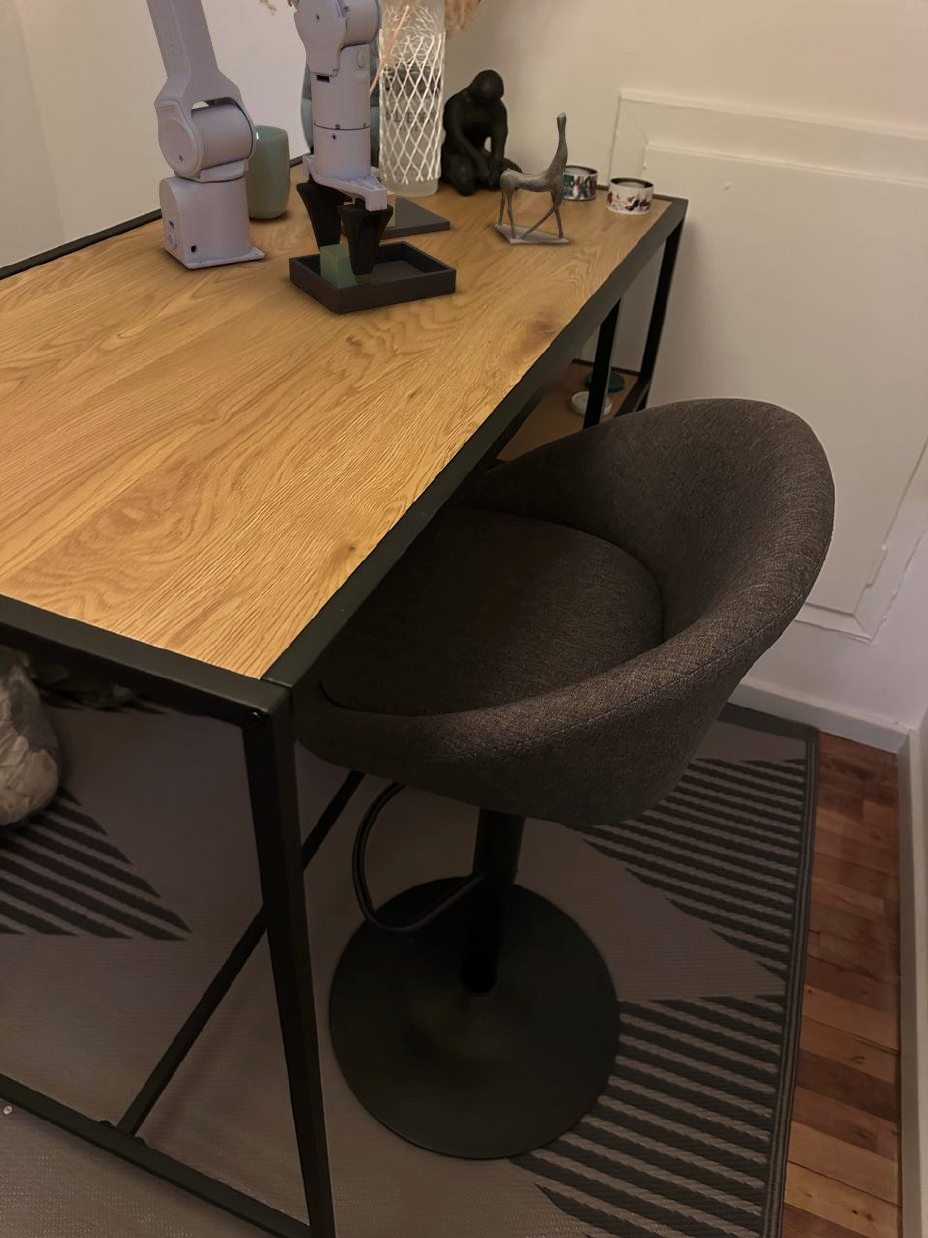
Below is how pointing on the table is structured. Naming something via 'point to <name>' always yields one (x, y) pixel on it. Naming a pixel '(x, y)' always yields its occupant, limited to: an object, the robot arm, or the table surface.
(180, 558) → the table surface
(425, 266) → the tray
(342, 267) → the sage block
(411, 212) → the board
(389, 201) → the cream block
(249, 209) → the cup
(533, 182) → the figurine
